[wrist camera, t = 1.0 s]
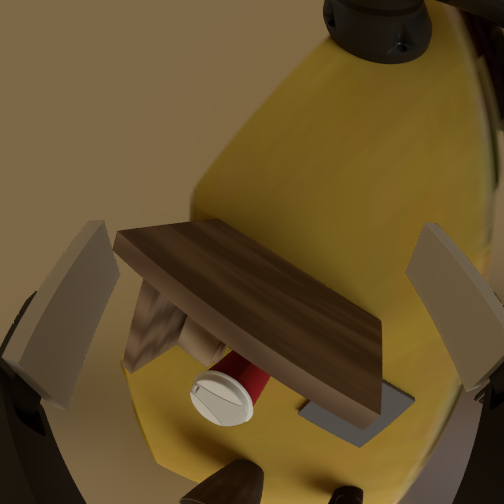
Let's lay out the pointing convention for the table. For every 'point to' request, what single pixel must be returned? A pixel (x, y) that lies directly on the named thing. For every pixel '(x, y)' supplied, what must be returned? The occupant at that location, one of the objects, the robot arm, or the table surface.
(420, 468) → the table surface
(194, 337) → the offcut stack
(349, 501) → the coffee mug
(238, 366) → the paper cup
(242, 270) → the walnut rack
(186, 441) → the table surface
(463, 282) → the robot arm
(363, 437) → the rubber mat
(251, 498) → the plant pot
